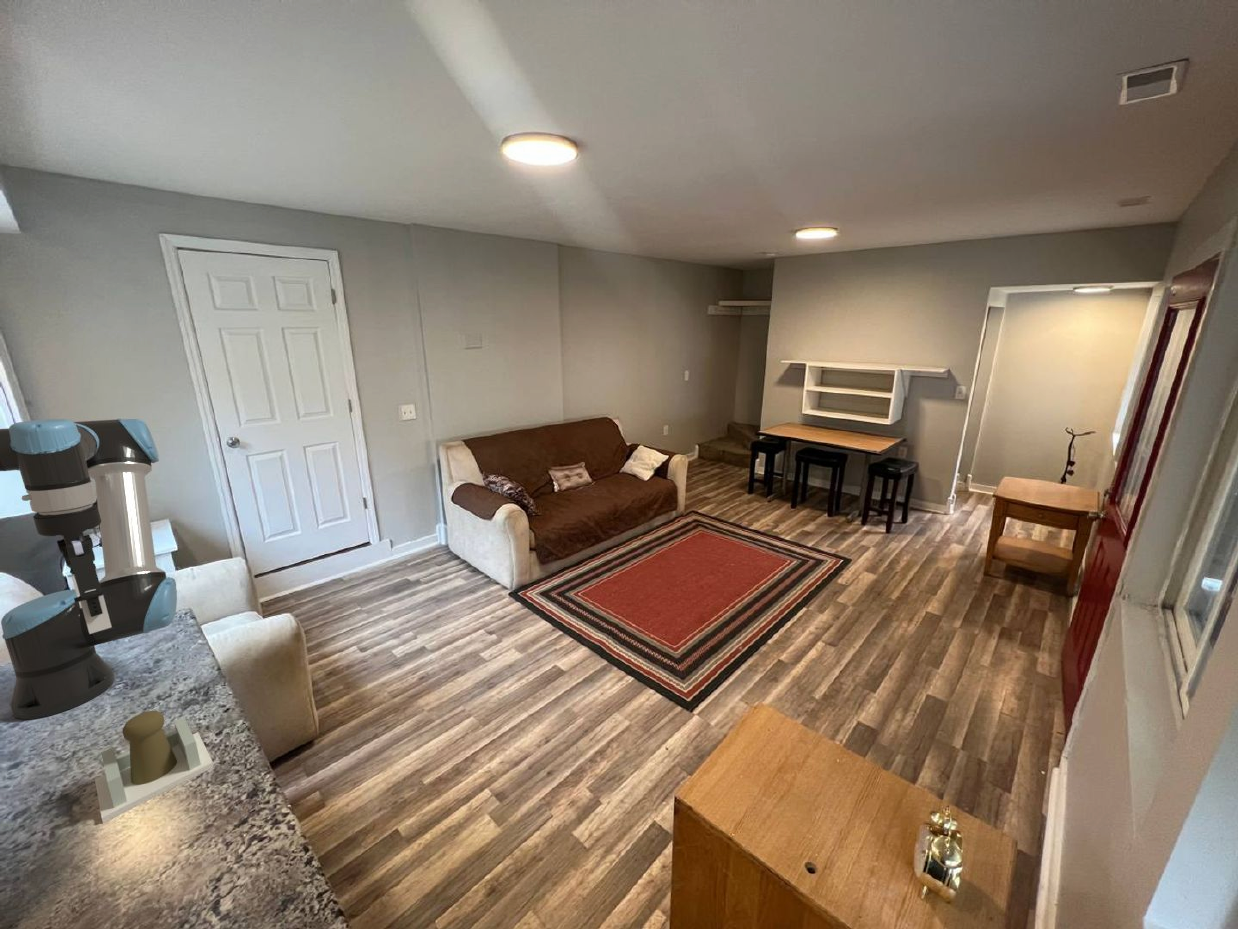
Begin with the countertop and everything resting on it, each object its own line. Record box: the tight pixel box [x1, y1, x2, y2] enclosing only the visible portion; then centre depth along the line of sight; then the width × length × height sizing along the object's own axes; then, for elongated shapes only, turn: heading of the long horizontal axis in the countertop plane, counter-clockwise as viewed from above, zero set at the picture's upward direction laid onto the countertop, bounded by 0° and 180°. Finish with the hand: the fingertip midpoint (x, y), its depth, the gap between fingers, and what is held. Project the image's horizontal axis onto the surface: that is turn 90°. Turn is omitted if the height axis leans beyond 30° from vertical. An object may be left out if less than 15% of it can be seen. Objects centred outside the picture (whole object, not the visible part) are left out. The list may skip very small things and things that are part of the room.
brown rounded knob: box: [122, 710, 177, 785], centre depth 84 cm, size 6×6×11 cm
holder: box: [94, 716, 215, 824], centre depth 85 cm, size 12×14×6 cm
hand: (95, 617), depth 88 cm, fingers open, 13 cm apart
